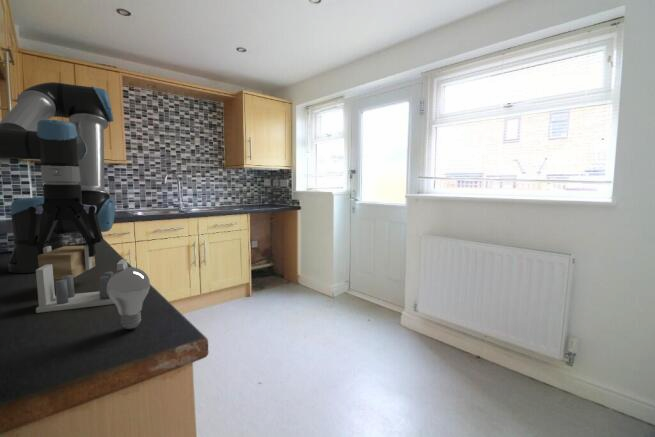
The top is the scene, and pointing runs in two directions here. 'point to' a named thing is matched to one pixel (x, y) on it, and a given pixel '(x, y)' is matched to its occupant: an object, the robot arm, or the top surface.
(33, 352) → the top surface
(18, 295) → the top surface
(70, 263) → the wooden block
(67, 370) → the top surface
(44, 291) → the peg stand
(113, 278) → the light bulb
